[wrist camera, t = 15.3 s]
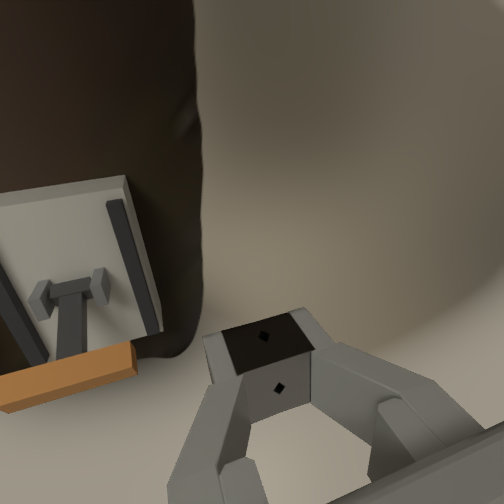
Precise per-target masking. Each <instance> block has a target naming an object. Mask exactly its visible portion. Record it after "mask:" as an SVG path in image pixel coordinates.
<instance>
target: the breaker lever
mask: <svg viewBox="0 0 504 504" xmlns="http://www.w3.org/2000/svg"><path fill="white" fill-rule="evenodd" d="M90 283H91V277H90V276H89V277H85V278H80V279H75V280H71V281H66V282H62V283H57V284H53V285H50V297H49V299H50V300H51V301H52V302H53V303H54V304H55V305H56V307H59V308H58V328H57V347H56V361H53V362H49V363H45V364H42V365H38V366H35V367H31V368H27V369H24V370H20V371H16V372H13V373H9V374H5V375H2V376H0V410H1V411H3V412H6V413H8V414H9V413H12V412H16V411H19V410H22V409H26V408H29V407H32V406H35V405H39V404H42V403H45V402H49V401H52V400H55V399H59V398H62V397H65V396H69V395H72V394H75V393H78V392H82V391H85V390H88V389H92V388H95V387H98V386H102V385H105V384H108V383H112V382H115V381H118V380H122V379H125V378H128V377H131V376H135V375H138V370H137V360H136V351H135V348H134V346H133V345H132V343H131V342H130V340H129V341H126V342H122V343H118V344H115V345H111V346H107V347H104V348H100V349H97V350H93V351H89V352H87V300H88V299H92V298H94V297H93V295H92V292H91V290H90V287H89V286H90Z"/></svg>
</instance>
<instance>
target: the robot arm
mask: <svg viewBox="0 0 504 504" xmlns="http://www.w3.org/2000/svg"><path fill="white" fill-rule="evenodd" d="M203 343H204V348H205V353H206V358H207V362H208V367H209V371H210V376H211V381H212V385H209V386H208V389H207V391H206V394H205V396H204V398H203V401H202V403H201V405H200V408H199V410H198V412H197V415H196V417H195V420H194V422H193V425H192V427H191V429H190V432H189V434H188V436H187V439H186V441H185V443H184V446H183V448H182V451H181V453H180V455H179V458H178V460H177V463H176V465H175V467H174V470H173V472H172V474H171V477H170V479H169V481H168V484H167V493H168V504H268V501H267V497H266V494H265V491H264V489H263V486H262V482H261V480H260V476H259V473H258V470H257V467H256V464H255V462H254V460H252V459H249V458H247V457H245V456H246V450H247V446H248V440H249V435H250V430H251V424H253V423H255V422H258V421H260V420H263V419H265V418H268V417H270V416H273V415H275V414H277V413H280V412H283V411H286V410H288V409H292V408H295V407H298V406H301V405H303V404H306V403H309V402H311V404H312V405H314V406H315V407H317V408H318V409H319V410H321V411H322V412H324V413H325V414H326V415H328V416H329V417H331V418H332V419H333V420H335V421H336V422H338V423H339V424H341V425H342V426H344V427H345V428H346V429H348V430H349V431H350V432H352V433H353V434H355V435H356V436H358V437H359V438H360V439H362V440H364V441H365V442H367V443H368V444H369V445H370V446H372V448H371V454H370V460H369V466H368V473H367V475H368V477H369V478H370V480H371V482H372V483H370V484H368V485H366V486H363V487H361V488H359V489H357V490H355V491H353V492H350V493H348V494H346V495H344V496H342V497H340V498H338V499H335V500H333V501H331V502H329V503H327V504H504V421H503V422H501V423H499V424H496V425H494V426H492V427H490V428H488V429H486V430H485V429H484V428H483V427H482V426H481V425H480V424H479V423H478V422H477V421H476V420H475V419H473V418H472V417H471V416H470V415H469V414H468V413H467V412H466V411H465V410H464V409H463V408H462V407H461V406H460V405H459V404H458V403H457V402H456V401H454V399H453V398H451V397H450V396H449V395H448V394H447V393H446V392H445V391H444V390H443V389H442V388H441V387H440V386H439V385H438V384H437V383H436V382H435V381H433V380H431V379H429V378H426V377H424V376H421V375H419V374H416V373H414V372H411V371H409V370H406V369H404V368H402V367H399V366H397V365H394V364H392V363H390V362H387V361H385V360H382V359H380V358H377V357H375V356H372V355H370V354H368V353H365V352H363V351H360V350H358V349H355V348H353V347H351V346H348V345H345V344H343V343H341V342H340V343H337V344H335V343H334V342H333V341H332V339H331V338H330V337H329V336H328V334H327V333H326V332H325V331H324V329H323V328H322V327H321V326H320V325H319V323H318V322H317V321H316V320H315V318H314V317H313V316H312V315H311V314H310V312H309V311H308V310H307V309H306V308H304V307H302V308H299V309H295V310H292V311H289V312H287V313H284V314H280V315H277V316H273V317H270V318H266V319H263V320H260V321H256V322H253V323H249V324H245V325H242V326H238V327H234V328H230V329H226V330H222V331H221V332H217V333H212V334H209V335H205V336H203Z"/></svg>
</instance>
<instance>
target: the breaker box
mask: <svg viewBox="0 0 504 504" xmlns="http://www.w3.org/2000/svg"><path fill="white" fill-rule="evenodd" d="M121 198H122V199H123V203H124V206H125V210H126V213H127V217H128V220H129V223H130V227H131V230H132V234H133V237H134V241H135V244H136V247H137V251H138V254H139V258H140V261H141V265H142V268H143V271H144V275H145V278H146V282H147V285H148V289H149V292H150V295H151V299H152V302H153V306H154V309H155V313H156V316H157V319H158V323H159V328H160V332H162V331H164V330H163V321H162V311H161V303H160V299H159V296H158V292H157V288H156V285H155V281H154V278H153V274H152V270H151V267H150V263H149V260H148V256H147V252H146V249H145V245H144V242H143V238H142V234H141V231H140V227H139V223H138V220H137V216H136V213H135V209H134V205H133V202H132V198H131V195H130V191H129V187H128V184H127V180H126V177H125V175H120V176H113V177H106V178H100V179H93V180H87V181H80V182H73V183H67V184H60V185H53V186H47V187H40V188H33V189H27V190H20V191H13V192H7V193H0V263H1V265H2V267H3V269H4V271H5V273H6V274H7V276H8V278H9V280H10V282H11V284H12V286H13V287H14V289H15V291H16V293H17V295H18V297H19V299H20V300H21V302H22V304H23V306H24V308H25V310H26V312H27V313H28V315H29V317H30V319H31V321H32V323H33V325H34V326H35V328H36V330H37V332H38V334H39V336H40V338H41V339H42V341H43V343H44V345H45V347H46V349H47V351H48V352H49V354H50V356H49V359H48V362H47V363H49V362H53V361H56V347H57V328H58V308H59V307H56V305H55V304H54V303H53V302H52V301H51V300H50V299H49V297H50V285H53V284H57V283H62V282H66V281H71V280H75V279H80V278H85V277H89V276H90V277H91V283H90V286H89V287H90V290H91V292H92V295H93V297H94V298H92V299H88V300H87V352H89V351H93V350H97V349H100V348H104V347H107V346H111V345H115V344H118V343H122V342H126V341H129V340H133V339H137V338H140V337H144V336H147V333H146V330H145V327H144V323H143V320H142V317H141V314H140V311H139V308H138V305H137V302H136V299H135V295H134V292H133V289H132V286H131V283H130V280H129V277H128V274H127V271H126V267H125V264H124V261H123V258H122V255H121V252H120V249H119V246H118V243H117V239H116V236H115V233H114V230H113V227H112V224H111V221H110V218H109V215H108V211H107V208H106V202H107V201H109V200H115V199H121Z"/></svg>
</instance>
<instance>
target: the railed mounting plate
mask: <svg viewBox="0 0 504 504" xmlns="http://www.w3.org/2000/svg"><path fill="white" fill-rule="evenodd" d="M106 208H107V211H108V215H109V218H110V221H111V224H112V227H113V230H114V233H115V236H116V239H117V243H118V246H119V249H120V252H121V255H122V258H123V261H124V264H125V267H126V271H127V274H128V277H129V280H130V283H131V286H132V289H133V292H134V295H135V299H136V302H137V305H138V308H139V311H140V314H141V317H142V320H143V323H144V327H145V330H146V333H147V336H151V335H154V334H158V333H160V328H159V323H158V319H157V316H156V313H155V309H154V306H153V302H152V299H151V295H150V292H149V289H148V285H147V282H146V278H145V275H144V271H143V268H142V265H141V261H140V258H139V254H138V251H137V247H136V244H135V241H134V237H133V234H132V230H131V227H130V223H129V220H128V217H127V213H126V210H125V206H124V203H123V199H122V198H121V199H115V200H109V201H107V202H106ZM0 315H1V316H2V318H3V320H4V321H5V323H6V325H7V326H8V328H9V330H10V332H11V333H12V335H13V337H14V338H15V340H16V342H17V343H18V345H19V347H20V348H21V350H22V352H23V354H24V355H25V357H26V359H27V360H28V362H29V364H30V365H31V367H35V366H38V365H42V364H45V363H47V362H48V359H49V356H50V354H49V352H48V351H47V349H46V347H45V345H44V343H43V341H42V339H41V338H40V336H39V334H38V332H37V330H36V328H35V326H34V325H33V323H32V321H31V319H30V317H29V315H28V313H27V312H26V310H25V308H24V306H23V304H22V302H21V300H20V299H19V297H18V295H17V293H16V291H15V289H14V287H13V286H12V284H11V282H10V280H9V278H8V276H7V274H6V273H5V271H4V269H3V267H2V265H1V263H0Z"/></svg>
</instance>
